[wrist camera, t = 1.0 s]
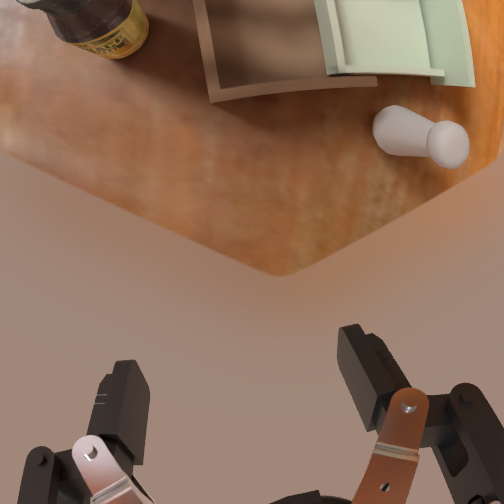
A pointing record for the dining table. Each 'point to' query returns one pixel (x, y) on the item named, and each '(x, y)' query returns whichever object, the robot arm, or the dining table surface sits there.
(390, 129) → the salt shaker
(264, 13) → the cabinet
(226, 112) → the dining table surface
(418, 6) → the drawer
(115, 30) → the sauce bottle
